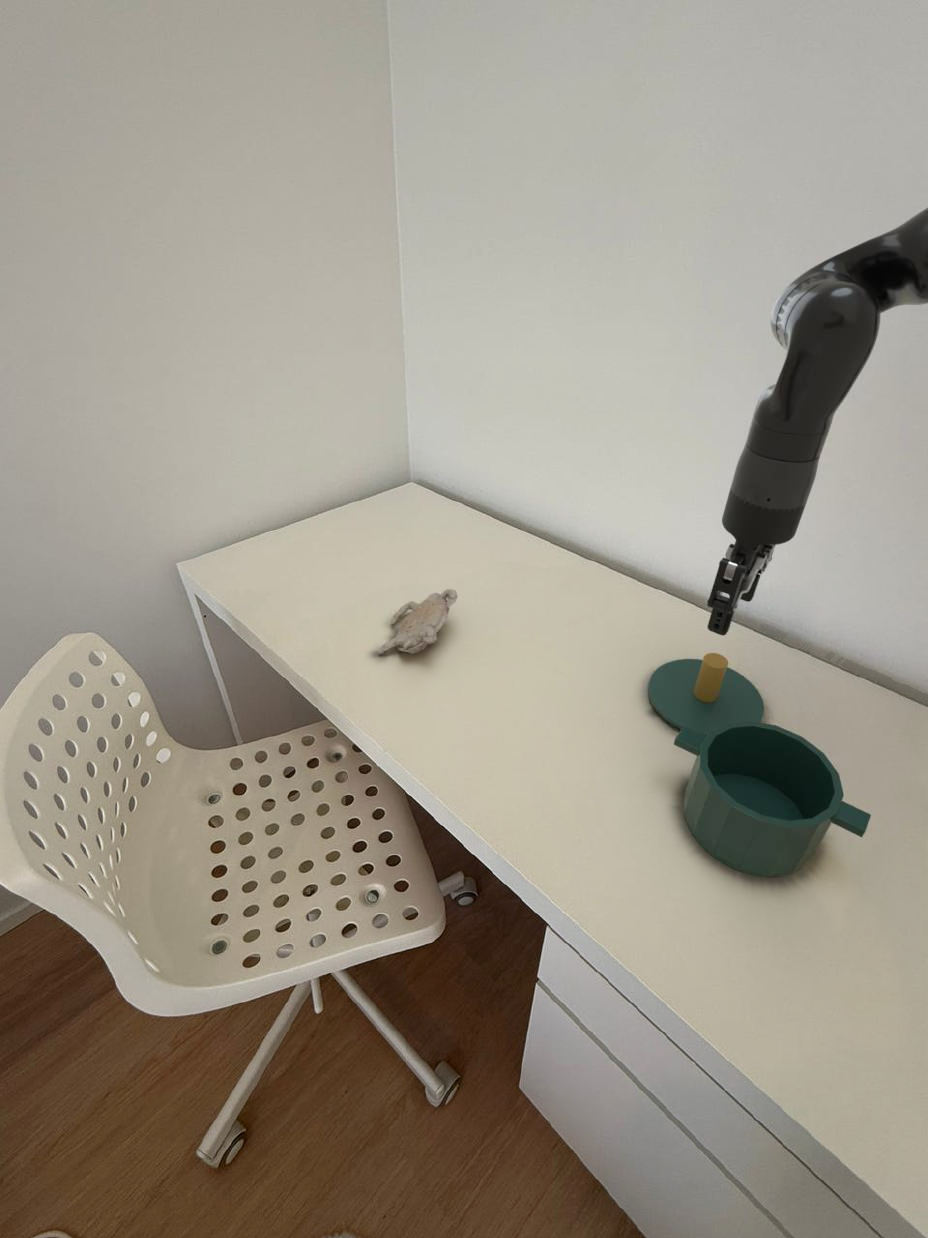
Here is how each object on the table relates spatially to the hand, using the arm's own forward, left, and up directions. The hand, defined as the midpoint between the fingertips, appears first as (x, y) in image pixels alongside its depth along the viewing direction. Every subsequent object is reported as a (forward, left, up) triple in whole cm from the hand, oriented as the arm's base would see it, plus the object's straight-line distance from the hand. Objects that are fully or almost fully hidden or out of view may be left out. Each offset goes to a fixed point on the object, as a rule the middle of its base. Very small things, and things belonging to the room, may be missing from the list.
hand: (730, 614), depth 77 cm
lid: (0, 0, -14) cm, 14 cm away
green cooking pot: (+15, +11, -15) cm, 24 cm away
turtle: (+13, -39, -15) cm, 44 cm away
